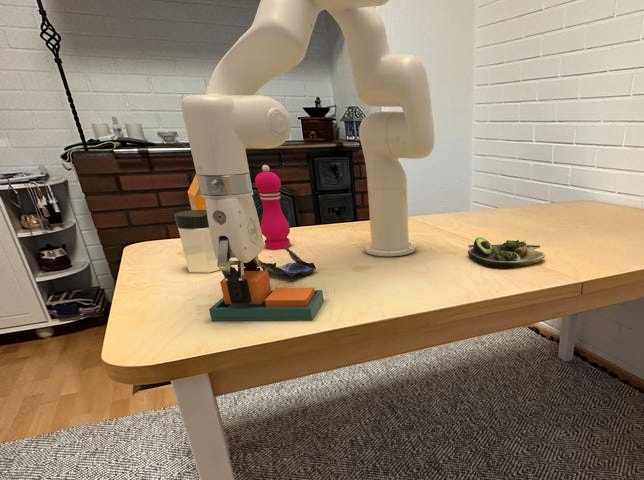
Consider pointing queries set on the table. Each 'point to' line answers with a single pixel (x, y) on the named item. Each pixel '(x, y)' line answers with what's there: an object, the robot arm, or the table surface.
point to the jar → (196, 241)
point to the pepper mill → (272, 210)
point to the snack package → (290, 266)
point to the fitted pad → (290, 297)
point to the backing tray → (264, 311)
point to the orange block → (252, 287)
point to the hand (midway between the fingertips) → (248, 295)
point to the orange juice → (196, 196)
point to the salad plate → (504, 253)
